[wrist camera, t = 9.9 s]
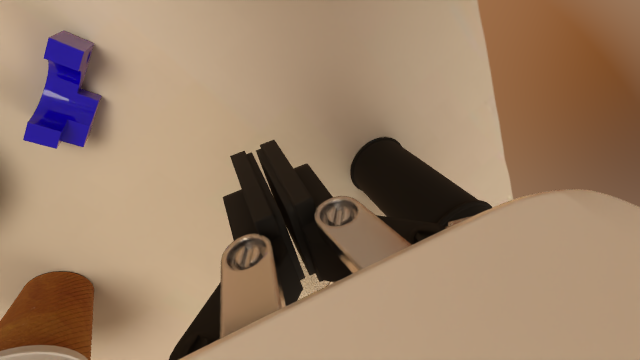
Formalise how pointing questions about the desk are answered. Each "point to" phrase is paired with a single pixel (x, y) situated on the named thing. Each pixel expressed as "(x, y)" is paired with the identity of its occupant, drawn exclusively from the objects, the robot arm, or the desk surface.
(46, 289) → the disposable coffee cup
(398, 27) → the desk surface
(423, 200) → the aerosol can
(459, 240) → the robot arm
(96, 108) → the cable holder
